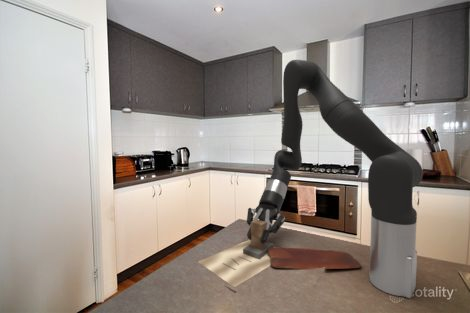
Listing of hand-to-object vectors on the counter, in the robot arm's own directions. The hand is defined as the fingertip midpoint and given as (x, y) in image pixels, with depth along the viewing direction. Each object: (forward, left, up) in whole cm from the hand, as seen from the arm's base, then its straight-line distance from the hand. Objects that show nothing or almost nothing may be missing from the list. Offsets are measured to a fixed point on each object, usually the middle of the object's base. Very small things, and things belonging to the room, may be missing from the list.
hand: (255, 240), depth 71 cm
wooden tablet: (-14, -10, -5) cm, 18 cm away
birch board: (0, +4, -6) cm, 7 cm away
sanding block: (0, -2, -4) cm, 4 cm away
